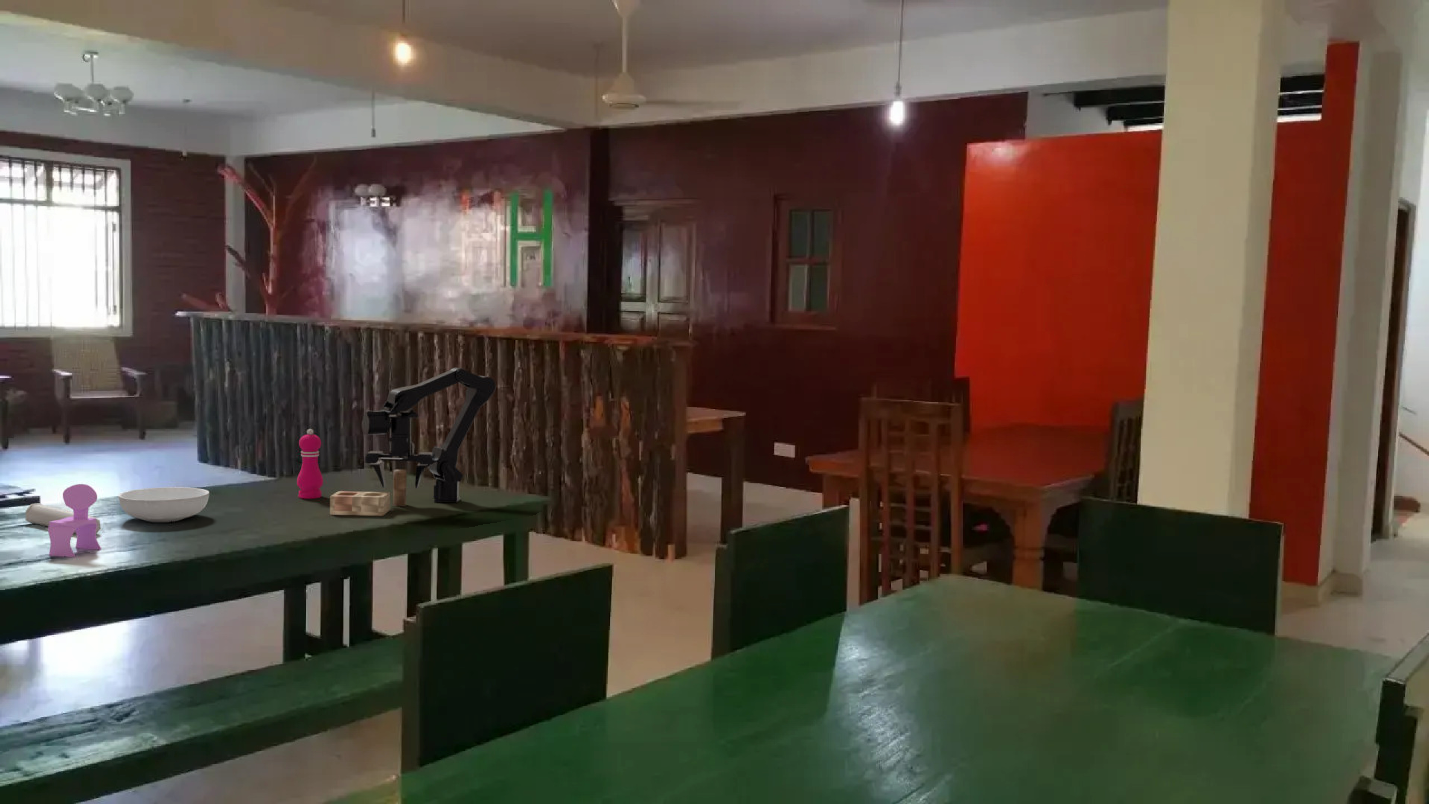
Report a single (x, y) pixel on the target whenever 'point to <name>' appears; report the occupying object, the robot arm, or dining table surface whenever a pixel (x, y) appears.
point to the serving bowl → (163, 503)
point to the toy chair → (74, 522)
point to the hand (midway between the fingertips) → (400, 487)
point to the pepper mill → (310, 467)
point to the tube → (49, 515)
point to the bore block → (359, 503)
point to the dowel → (399, 487)
